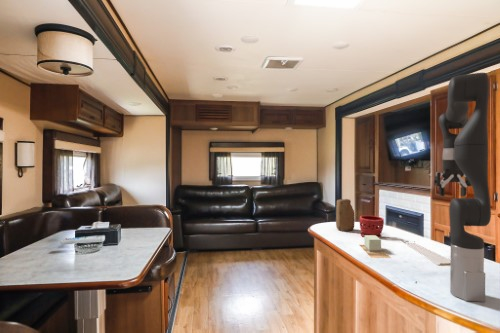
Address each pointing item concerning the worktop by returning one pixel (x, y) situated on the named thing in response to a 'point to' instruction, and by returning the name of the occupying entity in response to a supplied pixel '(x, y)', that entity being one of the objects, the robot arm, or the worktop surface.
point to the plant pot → (371, 225)
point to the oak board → (376, 253)
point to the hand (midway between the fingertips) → (452, 196)
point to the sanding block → (372, 243)
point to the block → (344, 215)
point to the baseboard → (429, 254)
